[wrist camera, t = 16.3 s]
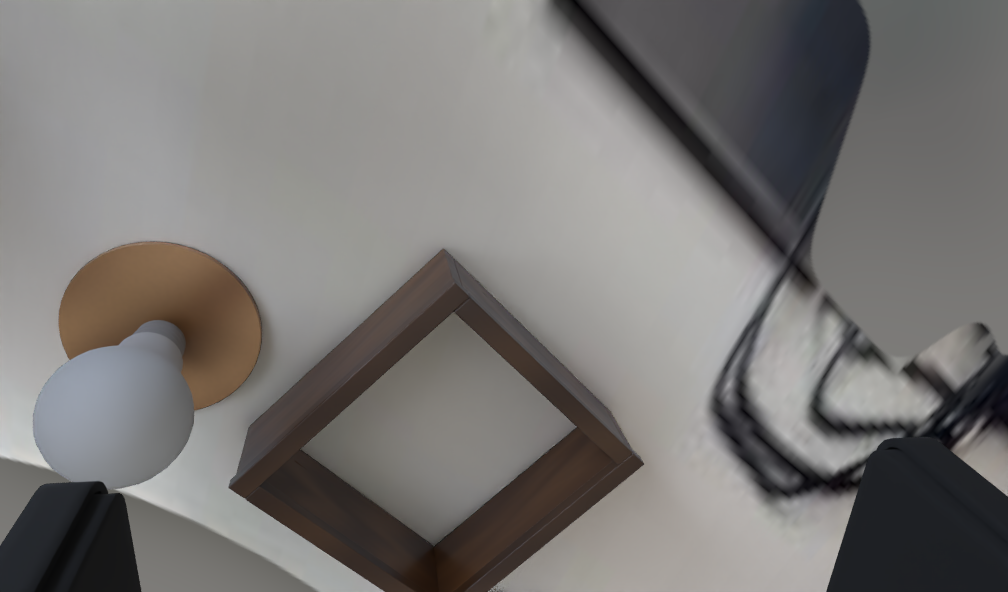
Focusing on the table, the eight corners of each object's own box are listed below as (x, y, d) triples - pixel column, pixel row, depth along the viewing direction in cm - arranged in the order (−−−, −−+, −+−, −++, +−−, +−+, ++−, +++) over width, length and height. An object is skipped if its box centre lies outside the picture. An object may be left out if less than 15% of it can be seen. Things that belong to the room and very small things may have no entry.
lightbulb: (226, 385, 40) (180, 518, 30) (106, 384, 39) (17, 522, 29) (223, 284, 38) (171, 392, 28) (95, 279, 36) (-7, 390, 26)
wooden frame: (244, 427, 42) (227, 488, 37) (443, 244, 39) (454, 282, 34) (433, 562, 48) (441, 629, 43) (614, 411, 46) (644, 464, 41)
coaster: (18, 332, 37) (15, 335, 37) (147, 201, 36) (145, 204, 35) (179, 440, 41) (177, 444, 41) (301, 327, 40) (300, 330, 39)
